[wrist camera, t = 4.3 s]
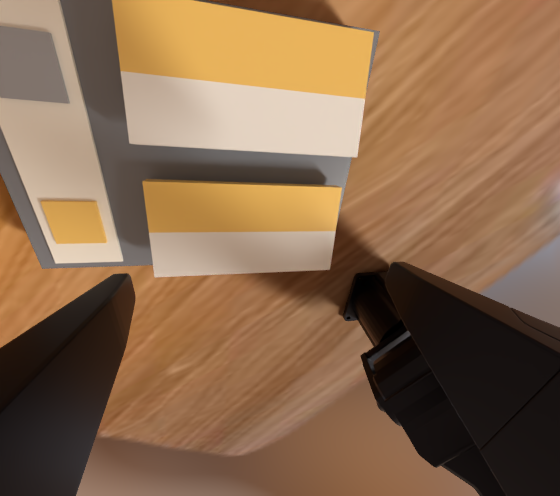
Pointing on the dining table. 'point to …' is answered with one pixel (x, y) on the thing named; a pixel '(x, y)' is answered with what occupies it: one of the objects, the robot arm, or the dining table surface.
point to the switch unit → (101, 139)
